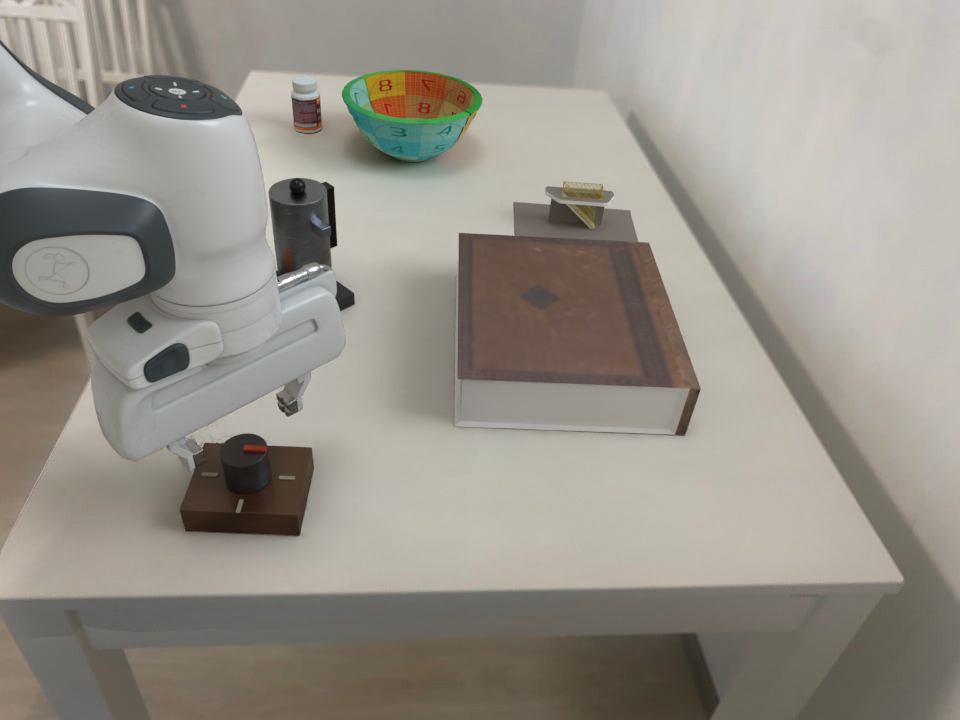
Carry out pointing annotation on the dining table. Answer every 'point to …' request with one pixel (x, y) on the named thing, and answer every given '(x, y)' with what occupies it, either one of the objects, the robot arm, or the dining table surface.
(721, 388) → the dining table surface
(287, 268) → the kettle
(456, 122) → the bowl
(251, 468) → the dial knob
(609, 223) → the platform
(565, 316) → the book
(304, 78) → the pill bottle
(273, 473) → the dial panel
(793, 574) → the dining table surface
